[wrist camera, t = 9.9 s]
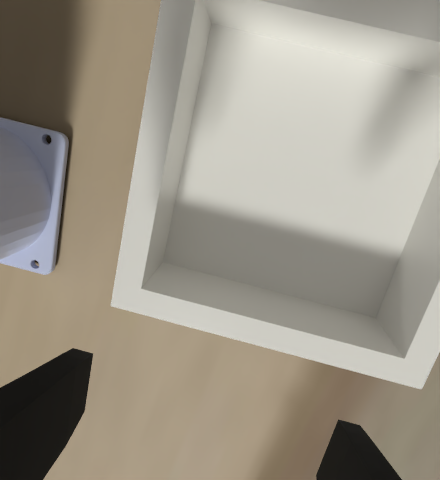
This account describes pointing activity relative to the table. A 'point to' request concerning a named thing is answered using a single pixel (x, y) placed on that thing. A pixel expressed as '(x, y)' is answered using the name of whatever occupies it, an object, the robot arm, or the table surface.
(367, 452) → the robot arm
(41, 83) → the table surface
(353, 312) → the white square dish
